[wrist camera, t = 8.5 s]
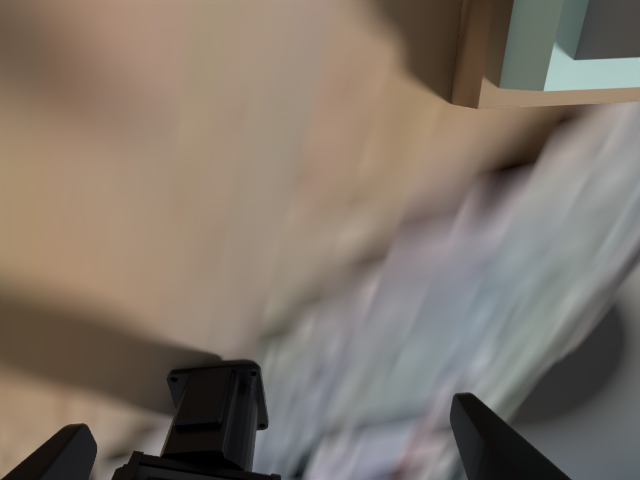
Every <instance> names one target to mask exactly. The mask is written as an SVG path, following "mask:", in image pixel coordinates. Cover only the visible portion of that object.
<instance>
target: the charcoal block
mask: <svg viewBox="0 0 640 480" xmlns="http://www.w3.org/2000/svg"><path fill="white" fill-rule="evenodd" d="M623 58H640V0H589V2H588V6H587V10H586V14H585V18H584V22H583V26H582V30H581V34H580V38H579V42H578V46H577V50H576V54H575V58H574V60H597V59H623Z"/></svg>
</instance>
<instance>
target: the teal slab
mask: <svg viewBox="0 0 640 480" xmlns="http://www.w3.org/2000/svg"><path fill="white" fill-rule="evenodd" d="M588 2H589V0H514V3H513V9H512V15H511V20H510V26H509V32H508V38H507V44H506V50H505V55H504V61H503V67H502V73H501V79H500V85H499V88H500V89H515V90H530V91H563V90H585V89H608V88H631V87H640V58H623V59H597V60H574V58H575V54H576V50H577V46H578V42H579V38H580V34H581V30H582V26H583V22H584V18H585V14H586V10H587V6H588Z"/></svg>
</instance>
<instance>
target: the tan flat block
mask: <svg viewBox="0 0 640 480" xmlns="http://www.w3.org/2000/svg"><path fill="white" fill-rule="evenodd" d="M513 3H514V0H463V3H462V12H461V20H460V29H459V37H458V46H457V54H456V63H455V71H454V80H453V88H452V97H451V104H454V105H459V106H464V107H470V108H475V109H489V108H511V107H532V106H554V105H576V104H597V103H619V102H640V87H631V88H608V89H585V90H563V91H530V90H515V89H500V88H499V85H500V79H501V73H502V67H503V61H504V55H505V50H506V44H507V38H508V32H509V26H510V20H511V15H512V9H513Z"/></svg>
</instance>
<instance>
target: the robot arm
mask: <svg viewBox="0 0 640 480" xmlns="http://www.w3.org/2000/svg"><path fill="white" fill-rule="evenodd" d="M252 371H255V372H252ZM175 377H176V378H175ZM167 382H168V385H169V388H170V391H171V394H172V398H173V401H174V404H175V407H176V412H175V415H174V418H173V420H172V423H171V426H170V429H169V432H168V434H167V437H166V440H165V443H164V446H163V448H162V451H161V454H160V457H158V456H152V455H146V454H144V452H139V451H134V452H133V454H132V456H131V458H130V460H129V462H128V464H124V465H123V467H120V468H118V469H116V470H115V473H114V475H113V477H112V479H111V480H281V476H280V475H278V474H271V475H267V474H261V473H255V472H252V466H253V457H254V448H255V439H256V431H257V430H265V429H267V428H268V422H269V420H268V413H267V407H266V400H265V393H264V387H263V380H262V373H261V368H260V366H258V365H256V364H248V365H235V366H222V367H208V368H195V369H182V370H172V371H171V372H170V373H169V375H168V377H167ZM450 423H451V427H452V430H453V433H454V437H455V440H456V443H457V446H458V449H459V453H460V456H461V459H462V462H463V465H464V469H465V472H466V475H467V478H468V480H572V479H571V478H569V477H568V476H567V475H566V474H565V473H564V472H562V471H561V470H560V469H559V468H558V467H557V466H556V465H554V464H553V463H552V462H551V461H550V460H549V459H547V458H546V457H545V456H544V455H543V454H542V453H540V452H539V451H538V450H537V449H536V448H535V447H534V446H532V445H531V444H530V443H529V442H528V441H527V440H526V439H524V438H523V437H522V436H521V435H520V434H519V433H517V432H516V431H515V430H514V429H513V428H512V427H511V426H509V425H508V424H507V423H506V422H505V421H504V420H502V419H501V418H500V417H499V416H498V415H497V414H496V413H494V412H493V411H492V410H491V409H490V408H489V407H487V406H486V405H485V404H484V403H483V402H482V401H481V400H479V399H478V398H477V397H476V396H475V395H474V394H472V393H469V392H466V393H456V394H455V395H454V396H453V400H452V406H451V411H450ZM96 454H97V444H96V442H95V440H94V438H93V435H92V433H91V431H90V429H89V427H88V426H87V425H86V424H84V423H81V424H70V425H67V426H65V427H63V428H62V429H61V430H59V431H58V432H57V433H56V434H55V435H53V436H52V437H51V438H50V439H49V440H47V441H46V442H45V443H44V444H43V445H42V446H40V447H39V448H38V449H37V450H36V451H34V452H33V453H32V454H31V455H30V456H28V457H27V458H26V459H25V460H24V461H22V462H21V463H20V464H19V465H18V466H16V467H15V468H14V469H13V470H12V471H10V472H9V473H8V474H7V475H6V476H5V477H3V478H2V479H1V480H88V479H89V476H90V473H91V470H92V467H93V464H94V461H95V458H96Z"/></svg>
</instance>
